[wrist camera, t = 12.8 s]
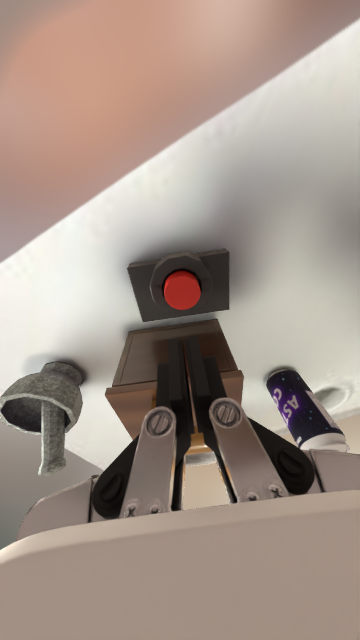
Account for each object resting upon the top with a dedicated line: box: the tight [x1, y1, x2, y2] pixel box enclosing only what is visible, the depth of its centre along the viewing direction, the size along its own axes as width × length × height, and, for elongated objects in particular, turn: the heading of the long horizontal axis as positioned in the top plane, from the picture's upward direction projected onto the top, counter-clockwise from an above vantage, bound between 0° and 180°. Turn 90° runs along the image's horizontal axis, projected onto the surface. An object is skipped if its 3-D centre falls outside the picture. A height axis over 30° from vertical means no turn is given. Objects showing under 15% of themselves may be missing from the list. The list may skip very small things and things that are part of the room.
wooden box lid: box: [105, 370, 244, 455], centre depth 20 cm, size 15×13×5 cm
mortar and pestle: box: [0, 362, 83, 476], centre depth 26 cm, size 11×9×12 cm
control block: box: [127, 249, 229, 322], centre depth 21 cm, size 11×8×4 cm
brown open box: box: [112, 319, 238, 387], centre depth 26 cm, size 15×13×9 cm
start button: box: [164, 271, 201, 310], centre depth 19 cm, size 4×4×2 cm
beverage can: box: [266, 369, 350, 453], centre depth 28 cm, size 6×6×12 cm
